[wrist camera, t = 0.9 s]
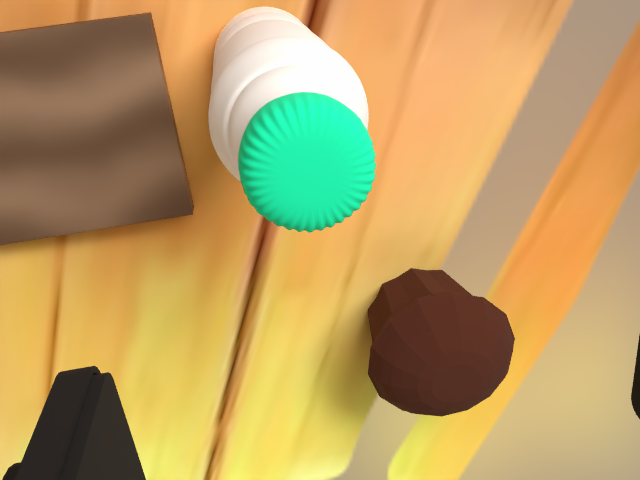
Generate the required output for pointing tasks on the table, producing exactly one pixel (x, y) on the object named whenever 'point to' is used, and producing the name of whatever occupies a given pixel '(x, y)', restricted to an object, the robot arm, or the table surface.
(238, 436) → the table surface
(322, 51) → the water bottle
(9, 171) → the walnut board
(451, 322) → the muffin
